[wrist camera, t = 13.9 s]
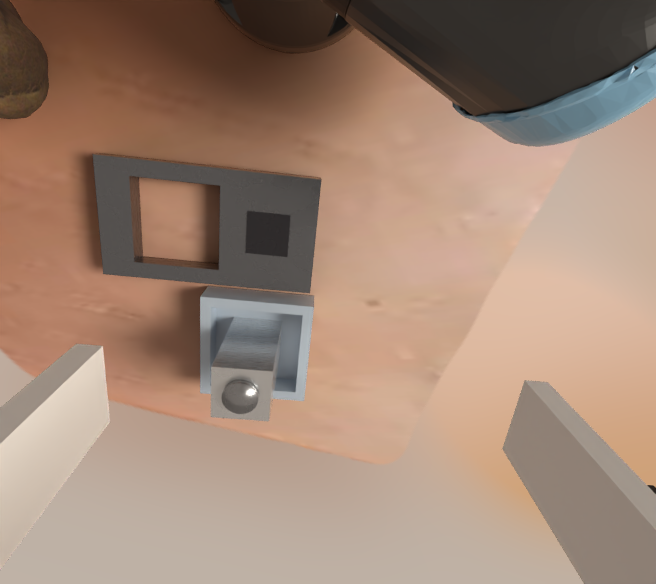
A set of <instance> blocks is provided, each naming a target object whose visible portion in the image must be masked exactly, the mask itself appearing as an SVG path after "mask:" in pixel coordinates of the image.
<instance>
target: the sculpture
mask: <svg viewBox="0 0 656 584" xmlns="http://www.w3.org/2000/svg"><path fill="white" fill-rule="evenodd" d="M48 87H49V83H48V59H47V55H46V52H45V50H44V48H43V46H42V44H41V42H40V41H39V40H38V39H37V38H36V36H35V35H34V34H33V33H32V32H31V31H30V30H29V29H28V28H27V27H26V26H25V25H24V24H23V22H22V20H21V18H20V16H19V14H18V13H17V11H16V9H15V8H14V6H13V5H12V3H11V2H10V1H9V0H0V118H5V119H17V118H26V117H28V116H30V115H31V114H32V113H33V112H35V111H36V110H37V109H38V108H39V107H40V106H41V105H42V102H43V101H44V100H45V99H46V96H47V93H48Z"/></svg>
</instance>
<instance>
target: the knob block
mask: <svg viewBox="0 0 656 584" xmlns="http://www.w3.org/2000/svg"><path fill="white" fill-rule="evenodd" d="M281 330H282V321H277V320H266V319H254V318H243V317H234V319H233V321H232V323H231V326H230V328H229V330H228V332H227V334H226V336H225V338H224V341H223V343H222V345H221V347H220V349H219V351H218V353H217V356H216V358H215V360H214V362H213V364H212V366H211V417H217V418H231V419H245V420H259V421H269V419H270V413H271V407H272V401H273V395H274V389H275V383H276V377H277V371H278V365H279V357H280V344H281Z"/></svg>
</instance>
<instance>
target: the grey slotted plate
mask: <svg viewBox="0 0 656 584" xmlns="http://www.w3.org/2000/svg"><path fill="white" fill-rule="evenodd" d="M93 164H94V175H95V186H96V197H97V208H98V219H99V230H100V242H101V253H102V264H103V274H109V275H120V276H131V277H142V278H152V279H163V280H174V281H185V282H195V283H206V284H217V285H228V286H239V287H249V288H260V289H271V290H282V291H293V292H303V293H310V287H311V277H312V267H313V257H314V247H315V237H316V227H317V217H318V207H319V197H320V187H321V178H319V177H310V176H301V175H292V174H283V173H274V172H265V171H256V170H247V169H238V168H229V167H220V166H211V165H202V164H193V163H184V162H175V161H166V160H157V159H148V158H139V157H130V156H121V155H112V154H93ZM139 177H145V178H154V179H163V180H172V181H182V182H191V183H200V184H209V185H219V186H220V229H219V264H216V263H205V262H195V261H184V260H174V259H164V258H153V257H143V250H142V232H141V213H140V194H139Z"/></svg>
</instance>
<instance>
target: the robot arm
mask: <svg viewBox="0 0 656 584" xmlns="http://www.w3.org/2000/svg"><path fill="white" fill-rule="evenodd" d="M215 2H216V3H217V5H218V6H219V8H220V9H221V10H222V12H223V13H224V14H225V16H226V17H227V18H228V19H229V20H230V22H231V23H232V24H233V25H234V26H235V27H236V28H237V29H239V30H240V31H241V32H242V33H243V34H245V35H246V36H247V37H249V38H250V39H252V40H253V41H255V42H257V43H259V44H261V45H263V46H265V47H268V48H271V49H273V50H277V51H282V52H289V53H304V52H311V51H316V50H319V49H322V48H325V47H327V46H330V45H332V44H334V43H335V42H337V41H339V40H340V39H342V38H343V37H345V36H346V35H347V34H348V33H350V32H351V31H352V30H353V29H354V28H356V29H357V30H358V31H360V32H361V33H362V34H364V35H365V36H366V37H368V38H369V39H370V40H372V41H373V42H374V43H376V44H377V45H378V46H379V47H381V48H382V49H383V50H385V51H386V52H387V53H389V54H390V55H391V56H393V57H394V58H395V59H396V60H398V61H399V62H400V63H402V64H403V65H404V66H406V67H407V68H408V69H410V70H411V71H412V72H414V73H415V74H416V75H417V76H419V77H420V78H421V79H423V80H424V81H425V82H427V83H428V84H429V85H431V86H432V87H433V88H435V89H436V90H437V91H438V92H440V93H441V94H442V95H444V96H445V97H446V98H448V99H449V100H450V101H452V103H453V107H454V108H455V109H456V110H457V111H458V112H459V113H460V114H461V115H462V116H464V117H466V118H468V119H472V120H474V121H477V122H480V123H481V124H483V125H484V126H486V127H487V128H489V129H490V130H492V131H493V132H495V133H496V134H497V135H499V136H500V137H502V138H503V139H505V140H507V141H509V142H512V143H516V144H521V145H526V146H536V147H540V146H548V145H555V144H560V143H564V142H567V141H571V140H574V139H577V138H580V137H582V136H585V135H588V134H590V133H593V132H595V131H597V130H599V129H601V128H604V127H606V126H608V125H610V124H612V123H614V122H616V121H618V120H620V119H621V118H623V117H625V116H627V115H629V114H630V113H632V112H634V111H636V110H637V109H639V108H640V107H642V106H644V105H645V104H647V103H648V102H650V101H651V100H653V99H654V98H656V0H215ZM109 422H110V416H109V406H108V395H107V385H106V374H105V364H104V354H103V346H97V345H85V344H75V345H74V346H73V347H72V348H71V349H70V350H68V351H67V352H66V353H65V354H64V355H62V356H61V357H60V358H59V359H58V360H56V361H55V362H54V363H53V364H52V365H50V366H49V367H48V368H47V369H46V370H45V371H43V372H42V373H41V374H40V375H39V376H37V377H36V378H35V379H34V380H33V381H32V382H30V383H29V384H28V385H27V386H25V387H24V388H23V389H22V390H21V391H20V392H18V393H17V394H16V395H15V396H14V397H12V398H11V399H10V400H9V401H8V402H6V403H5V404H4V405H3V406H2V407H0V570H1V569H2V567H3V566H4V564H5V563H6V562H7V560H8V559H9V558H10V556H11V555H12V553H13V552H14V551H15V550H16V548H17V547H18V545H19V544H20V543H21V541H22V540H23V539H24V537H25V536H26V534H27V533H28V532H29V531H30V529H31V528H32V527H33V525H34V524H35V522H36V521H37V520H38V518H39V517H40V516H41V514H42V513H43V511H44V510H45V509H46V508H47V506H48V505H49V504H50V502H51V501H52V499H53V498H54V497H55V495H56V494H57V493H58V491H59V490H60V489H61V487H62V486H63V485H64V483H65V482H66V480H67V479H68V478H69V476H70V475H71V474H72V472H73V471H74V470H75V468H76V467H77V465H78V464H79V463H80V461H81V460H82V459H83V457H84V456H85V455H86V453H87V452H88V451H89V449H90V448H91V447H92V445H93V444H94V443H95V441H96V440H97V439H98V437H99V436H100V434H101V433H102V432H103V430H104V429H105V427H106V426H107V425H108V423H109ZM503 451H504V452H505V454H506V456H507V457H508V459H509V461H510V462H511V464H512V466H513V467H514V469H515V471H516V472H517V474H518V475H519V477H520V479H521V480H522V482H523V483H524V485H525V487H526V489H527V490H528V492H529V494H530V495H531V497H532V499H533V500H534V502H535V503H536V505H537V506H538V508H539V510H540V512H541V513H542V515H543V516H544V518H545V520H546V521H547V523H548V525H549V527H550V528H551V530H552V532H553V533H554V535H555V536H556V538H557V540H558V541H559V543H560V545H561V546H562V548H563V550H564V551H565V553H566V554H567V556H568V558H569V559H570V561H571V563H572V565H573V566H574V568H575V569H576V571H577V573H578V574H579V576H580V578H581V579H582V581H583V582H584V584H656V488H655V487H654V486H652V485H646V484H645V483H644V482H643V481H642V480H641V479H640V478H639V476H638V475H637V474H636V473H635V472H634V471H633V470H632V469H631V468H630V467H629V466H628V465H627V464H626V463H625V462H624V461H623V460H622V459H621V458H620V457H619V456H618V455H617V454H616V453H615V452H614V451H613V449H611V448H610V447H609V445H608V444H607V443H606V442H605V441H604V440H603V439H602V438H601V437H600V436H599V435H598V434H597V433H596V432H595V431H594V430H593V429H592V428H591V427H590V426H589V425H588V424H587V423H586V421H584V419H583V418H582V417H581V416H580V415H579V414H578V413H577V412H576V411H575V410H574V409H573V408H572V407H571V406H570V405H569V404H568V403H567V402H566V401H565V400H564V399H563V398H562V397H561V396H560V394H559V393H558V392H556V390H555V389H554V388H553V387H552V386H551V385H550V384H549V383H548V382H539V381H526V380H525V381H524V384H523V387H522V390H521V393H520V397H519V400H518V403H517V406H516V409H515V412H514V415H513V418H512V421H511V424H510V427H509V430H508V433H507V436H506V439H505V443H504V446H503Z"/></svg>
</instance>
